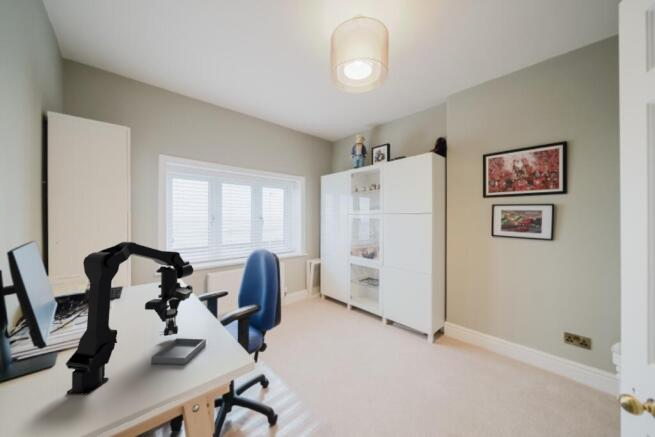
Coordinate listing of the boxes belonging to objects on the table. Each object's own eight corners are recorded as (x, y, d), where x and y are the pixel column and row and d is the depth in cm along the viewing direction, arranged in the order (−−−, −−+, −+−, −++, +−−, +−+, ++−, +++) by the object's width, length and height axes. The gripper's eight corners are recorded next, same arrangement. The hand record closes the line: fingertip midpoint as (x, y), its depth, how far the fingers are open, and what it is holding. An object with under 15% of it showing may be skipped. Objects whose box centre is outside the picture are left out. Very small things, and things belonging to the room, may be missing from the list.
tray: (184, 365, 81) (184, 357, 81) (151, 364, 81) (151, 356, 81) (205, 345, 94) (205, 338, 94) (176, 344, 94) (176, 337, 94)
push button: (158, 339, 94) (157, 314, 94) (161, 333, 99) (160, 309, 99) (177, 335, 97) (176, 311, 97) (179, 329, 102) (178, 306, 102)
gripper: (172, 288, 89) (171, 329, 89) (201, 276, 107) (200, 310, 107) (143, 287, 89) (143, 328, 89) (177, 276, 108) (177, 310, 108)
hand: (168, 318), depth 98 cm, fingers closed on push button, 5 cm apart
